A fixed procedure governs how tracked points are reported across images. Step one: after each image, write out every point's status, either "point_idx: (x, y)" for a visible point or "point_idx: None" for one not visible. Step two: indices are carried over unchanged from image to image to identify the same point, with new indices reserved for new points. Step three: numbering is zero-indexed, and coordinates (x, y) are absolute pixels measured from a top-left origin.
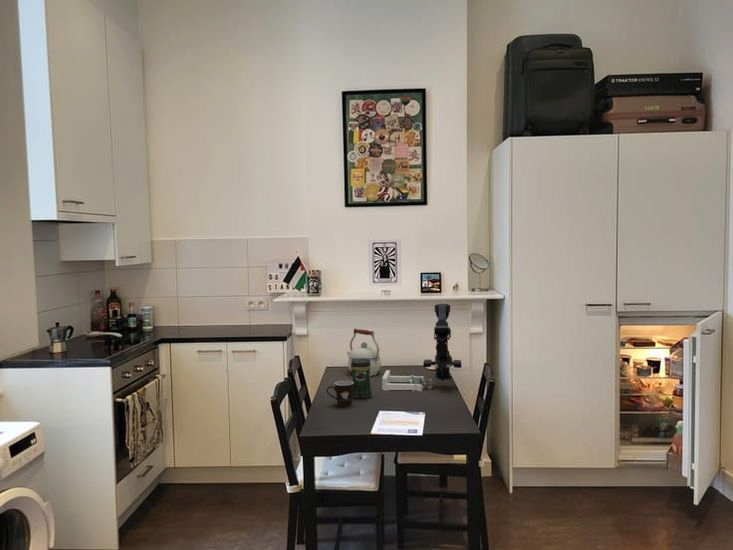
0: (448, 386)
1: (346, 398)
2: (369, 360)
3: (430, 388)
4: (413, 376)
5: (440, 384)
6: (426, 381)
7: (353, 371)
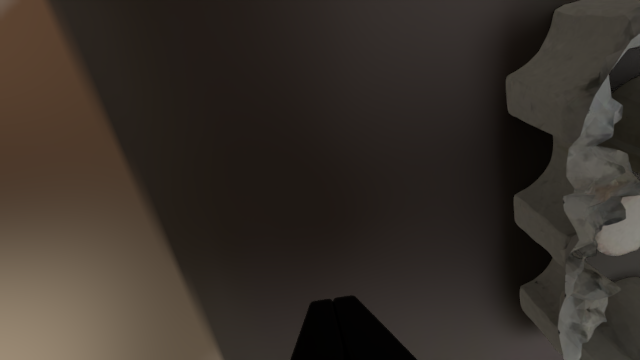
0: (215, 273)
1: None
2: None
3: (568, 10)
4: None
5: None
6: (604, 349)
7: None
